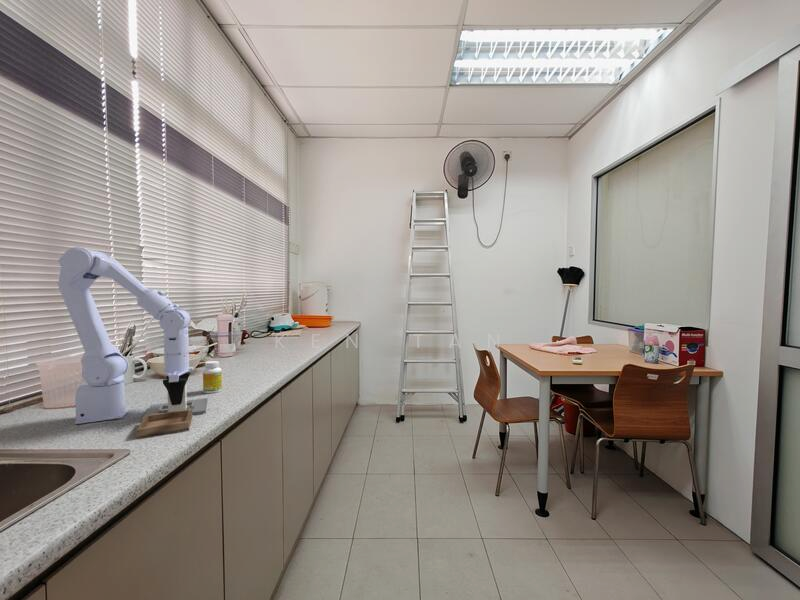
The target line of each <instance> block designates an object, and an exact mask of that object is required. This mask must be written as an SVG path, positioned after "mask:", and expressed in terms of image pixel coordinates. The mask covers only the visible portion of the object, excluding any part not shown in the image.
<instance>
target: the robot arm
mask: <svg viewBox="0 0 800 600" xmlns="http://www.w3.org/2000/svg"><path fill="white" fill-rule="evenodd" d="M57 262H58V263H59V266H60V271H59V277H58V285H57V286H58V290H59V291H60V294H61V296H62V299H63V301H64V304H65V306H66V309H67V311H68V314H69V316H70V318H71V321H72V323H73V327H74V328H75V330H76V333H77V335H78V338H79V339H80V340H79V341H80V343H81V345H82V348H83V349H84V352H83V355H82V357H81V358H80V363H81V365H82V370H81V378H82V380H83V381H84V382H85V383H86V384H83V385H82V384H81V385H79V386H78V387H77V389H76V392H75V401H74V402H75V405H74V406H75V421H74V424H75V425H79V424H87V423H94V422H101V421H109V420H115V419H118V420H119V419H123V418H124V416H126V414H127V413H128V412H129V411H130V410H131V407H130V406H128V407H126V401H125V400H126V398H125V397H126V396H125V395H126V394H125V393H126V392H125V391H126V390H125V374H126V373H127V372H128V370H129V366H130V364H129V361H128V359H127V358H126V356H123V354H122V353H121V351H120V349H119V348H118V347H117V346H116V345H113V343H112V342H111V340H110V337H109V335H108V333H107V329H106V327H105V325H104V322H103V320H102V318H101V315H100V312H99V311H98V308H97V305H96V302H95V300H94V297H93V295H92V293H91V290H90V287H92V285H93V284H94V283H95V281H96V280H98V279H99V278H101V277H105V278H110V280H113V281H114V283H117V284H118V285H120V287H122V288H123V289H124V290H126V291H128V292H129V293H131V294H132V295H133V296H134V297H136V301H137V305H138V306H139V307H140V308H141V309H143V310H144V311H145V312H147V314H149V315H150V316H152V317H153V318H154V320H157V321H158V324H159V327H160V328H161V329H162V330H163V359H164V361H163V362H164V363H163V365H164V367H163V369H164V370H163V374H164V375H166V377H165V378H166V379H165V378H164V379H163V380H162V384H163V386H164V387H165V388H166V390H167V394H168V393H169V397H170V401H171V404H172V405H178V404H181V402H182V398H183V391H184V387H185V384H186V383H187V382H188V381H189V377H190V375H191V371H194V370H195V367H194V366H190V349H189V348H190V346H189V345H190V344H189V339H190V338H189V336H190V335H189V327H188V326H189V325H190V324H191V323H192V322H191V321H192V317H191V314H190V313H189V312H188V310H187V309H184V308H179V307H180V305H179V304H177V303H174V302H172V301H171V300H170V299H169V298H168V297H166V296H165V295H166V293H165V292H164V291H162V290H157V289H154V288H153V289H150V288H147V287H146V286H145V285H144V284H143V283H142V282H140V280H139V279H137V278H136V277H135V275H133V274H132V273H131V272H130V271H129V270H127V268H125V267H124V266H123V265H122V264H121V263H120V262H119V261H118V260H117V259H115V258H113V257H112V256H110V255H109V254H108V253H107V252H105V251H101V250H92V249H86V248H85V247H80V246H77V247H76V246H74V247H71V248H69V249H67V250H66V251H65V252H64V253H63V254H62V255H61V257H59V259H58V261H57Z"/></svg>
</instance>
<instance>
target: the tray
mask: <svg viewBox="0 0 800 600" xmlns="http://www.w3.org/2000/svg"><path fill="white" fill-rule="evenodd" d="M143 417H144V416H143ZM192 419H193V415H192V409H191V408H189V409H186V410H181V411H173V412H168V411H167V412H163V413H159V414H151V415H146V416H145V417H144V419H143V420H142V419H141V422H140V424H139V425H138V427H137V428H136V439H141V438H148V437H155V436H160V435H161V436H162V435H166V434H168V435H169V434H173V433H179V432H178V431H181V432H186V431H185V430H187V431H189V430H190V428H189V427H191V423H192Z"/></svg>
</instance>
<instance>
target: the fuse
mask: <svg viewBox="0 0 800 600" xmlns="http://www.w3.org/2000/svg"><path fill="white" fill-rule="evenodd" d="M187 386H188V385H187V382H186V384H185V387H184V391H183V398H182V402H181V404H178V405H172V404H171V401H170V397H169V393H168V392H167V403H168V408H167V412H173V411H181V410H188V409H187V408H188V406H187V401H188V398H187V396H188V395H187V394H188V392H187V391H188V390H187V389H188V387H187Z"/></svg>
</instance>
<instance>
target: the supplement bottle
mask: <svg viewBox="0 0 800 600" xmlns="http://www.w3.org/2000/svg"><path fill="white" fill-rule="evenodd" d="M204 363H205V365H204V366H205V368H203V370H202V392H203V393H204V394H214V393H218V392H221V391H222V389H223V388H222V387H223V386H222V385H223V384H222V383H223V381H222V380H223V379H222V368H221V367H219V366H220V361H218V360H208V361H205V362H204Z"/></svg>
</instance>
